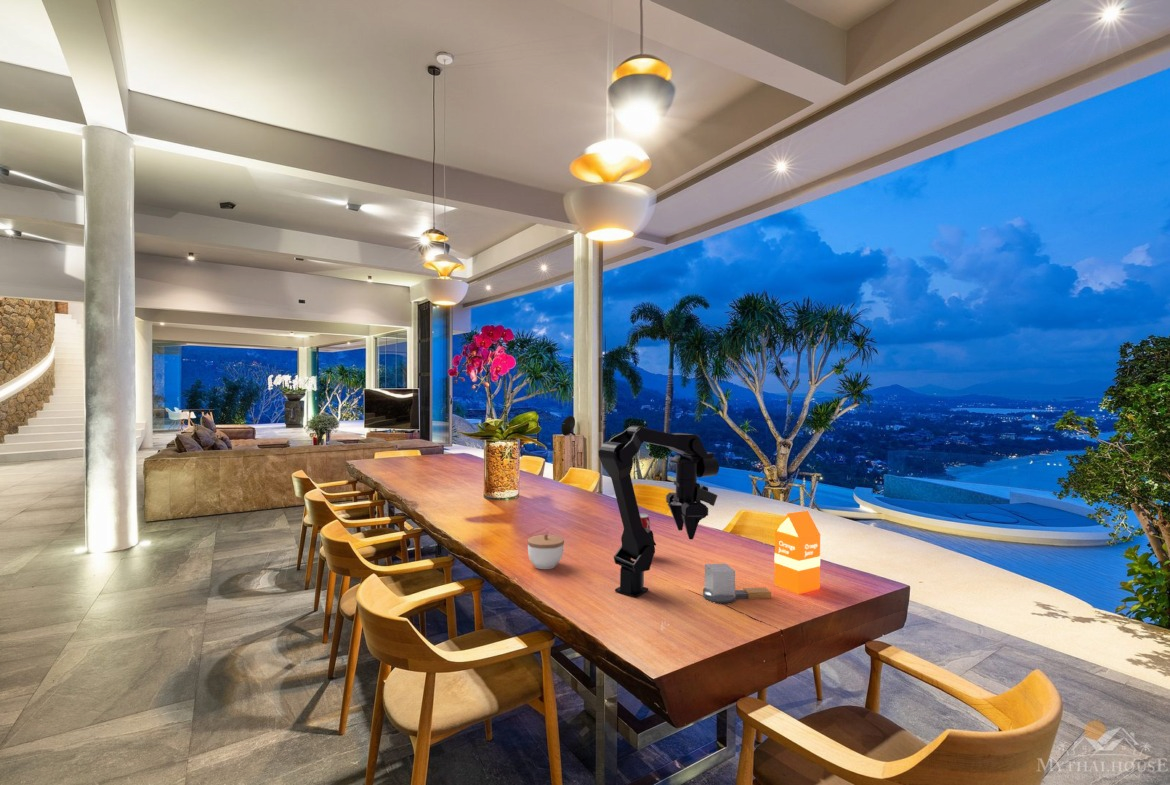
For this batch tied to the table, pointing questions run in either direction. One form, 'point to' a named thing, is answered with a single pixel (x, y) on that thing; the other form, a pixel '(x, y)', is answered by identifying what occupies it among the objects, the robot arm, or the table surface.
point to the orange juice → (797, 553)
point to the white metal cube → (719, 580)
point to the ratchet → (739, 595)
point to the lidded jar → (545, 550)
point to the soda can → (645, 520)
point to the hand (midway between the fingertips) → (685, 534)
